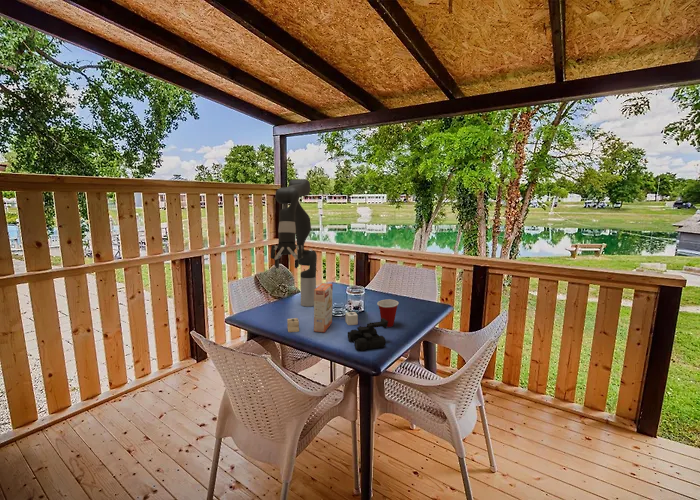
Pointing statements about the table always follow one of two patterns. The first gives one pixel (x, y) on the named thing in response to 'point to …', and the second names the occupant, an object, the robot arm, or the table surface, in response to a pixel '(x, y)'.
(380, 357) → the table surface
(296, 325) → the birch block
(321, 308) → the cracker box
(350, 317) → the beige wooden cube
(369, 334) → the night vision goggles
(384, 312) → the plastic cup
